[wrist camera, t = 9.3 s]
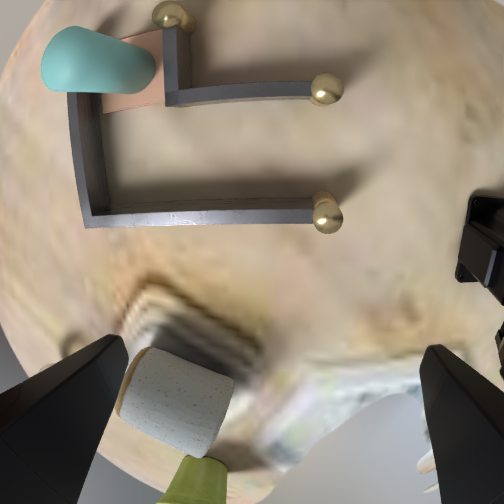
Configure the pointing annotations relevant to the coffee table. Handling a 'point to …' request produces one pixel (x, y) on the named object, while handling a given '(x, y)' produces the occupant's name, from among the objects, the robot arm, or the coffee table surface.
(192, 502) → the plant pot
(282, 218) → the metal rail track
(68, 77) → the peg
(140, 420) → the ceramic mug
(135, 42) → the pad
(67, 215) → the coffee table surface
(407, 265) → the coffee table surface
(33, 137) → the coffee table surface
